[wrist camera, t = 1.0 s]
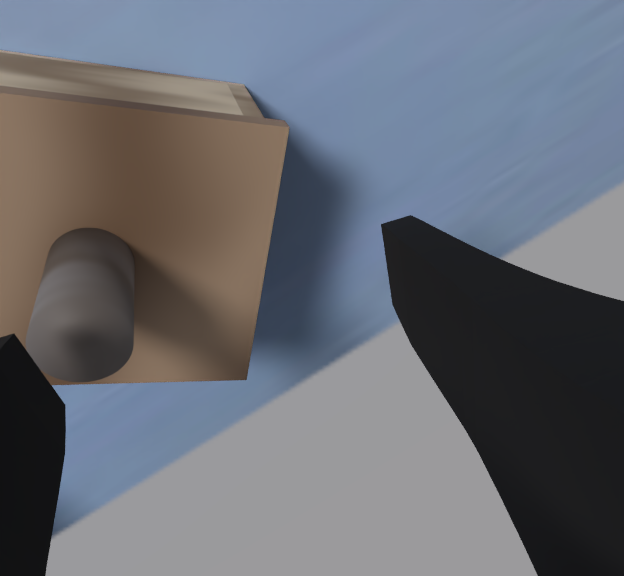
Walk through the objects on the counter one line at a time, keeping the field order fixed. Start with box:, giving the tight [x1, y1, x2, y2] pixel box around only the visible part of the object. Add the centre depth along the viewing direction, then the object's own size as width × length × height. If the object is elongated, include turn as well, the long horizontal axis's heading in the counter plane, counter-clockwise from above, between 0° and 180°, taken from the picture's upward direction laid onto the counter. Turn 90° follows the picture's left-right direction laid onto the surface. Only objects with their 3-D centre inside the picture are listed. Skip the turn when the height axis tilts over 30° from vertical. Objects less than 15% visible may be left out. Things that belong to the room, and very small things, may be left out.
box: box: [0, 50, 264, 118], centre depth 18 cm, size 9×8×5 cm
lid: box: [0, 86, 289, 385], centre depth 14 cm, size 10×9×5 cm
